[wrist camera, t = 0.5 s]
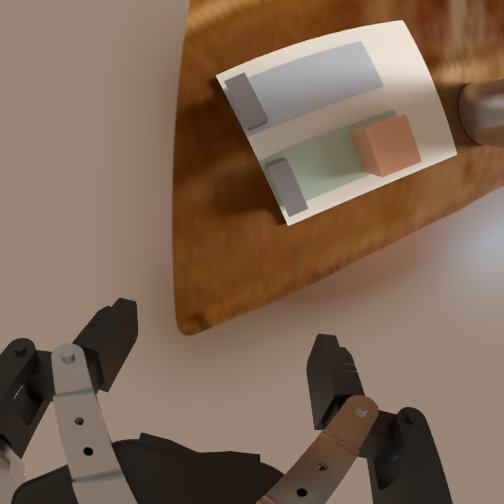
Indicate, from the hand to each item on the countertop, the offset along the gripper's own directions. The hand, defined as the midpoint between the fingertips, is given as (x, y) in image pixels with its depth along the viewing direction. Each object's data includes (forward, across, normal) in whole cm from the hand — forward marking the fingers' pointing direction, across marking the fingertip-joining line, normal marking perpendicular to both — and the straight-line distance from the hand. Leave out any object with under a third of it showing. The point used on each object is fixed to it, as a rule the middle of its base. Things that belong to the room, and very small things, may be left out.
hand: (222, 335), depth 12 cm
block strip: (+22, -9, -8) cm, 25 cm away
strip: (+22, -4, -16) cm, 27 cm away
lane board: (+24, -10, -14) cm, 29 cm away
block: (+22, -13, -11) cm, 27 cm away
